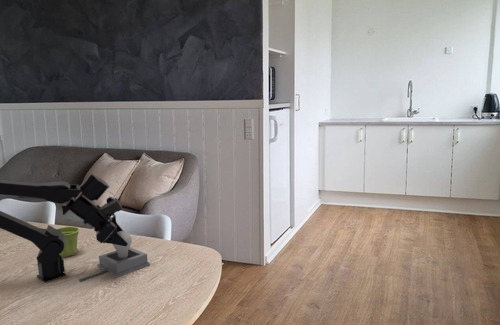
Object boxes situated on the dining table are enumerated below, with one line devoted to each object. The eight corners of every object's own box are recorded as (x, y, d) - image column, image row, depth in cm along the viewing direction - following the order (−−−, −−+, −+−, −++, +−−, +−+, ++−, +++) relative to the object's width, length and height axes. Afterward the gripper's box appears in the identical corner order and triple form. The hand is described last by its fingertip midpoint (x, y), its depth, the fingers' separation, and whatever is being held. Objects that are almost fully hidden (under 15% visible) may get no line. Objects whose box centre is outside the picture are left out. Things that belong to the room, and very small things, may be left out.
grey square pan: (89, 287, 126) (88, 275, 126) (70, 276, 135) (69, 264, 134) (149, 265, 142) (149, 254, 141) (129, 256, 150) (129, 245, 149)
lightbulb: (123, 268, 137) (121, 235, 135) (109, 265, 140) (107, 233, 138) (137, 261, 142) (135, 230, 140) (123, 258, 145) (121, 227, 143)
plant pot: (86, 249, 158) (84, 226, 156) (73, 259, 148) (71, 235, 147) (62, 249, 159) (59, 226, 157) (47, 259, 149) (45, 234, 148)
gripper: (104, 198, 127) (145, 230, 132) (104, 185, 145) (140, 214, 150) (78, 227, 126) (120, 258, 131) (81, 211, 144) (118, 238, 149)
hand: (126, 240), depth 140 cm, fingers open, 9 cm apart
